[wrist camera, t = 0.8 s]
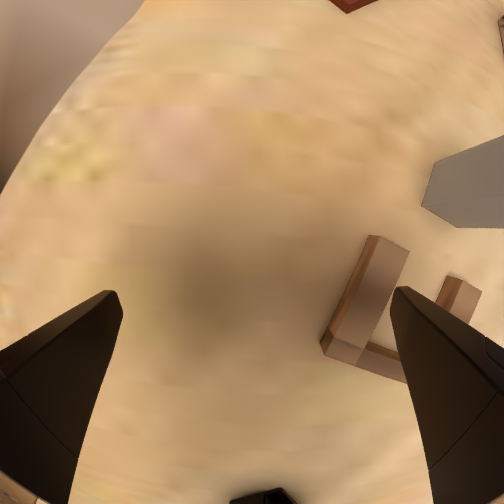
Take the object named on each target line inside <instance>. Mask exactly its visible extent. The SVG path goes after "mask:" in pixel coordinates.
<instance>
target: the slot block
mask: <svg viewBox="0 0 504 504" xmlns="http://www.w3.org/2000/svg"><path fill="white" fill-rule="evenodd" d="M409 252H410V251H408V250H406V249H404V248H403V247H401V246H399V245H397V244H395V243H393V242H391V241H389V240H387V239H385V238H383V237H381V236H371V235H369V238H368V240H367V243H366V245H365V248H364V250H363V252H362V255H361V257H360V259H359V262H358V264H357V266H356V268H355V271H354V273H353V275H352V277H351V280H350V282H349V284H348V286H347V288H346V290H345V293H344V295H343V297H342V299H341V301H340V303H339V305H338V307H337V309H336V311H335V313H334V316H333V318H332V320H331V322H330V324H329V326H328V328H327V330H326V331H325V333H324V335H323V337H322V339H321V341H320V345H321V347H322V350H323V353H324V355H325V356H328V357H330V358H333V359H336V360H339V361H341V362H344V363H347V364H350V365H352V366H355V367H358V368H361V369H364V370H367V371H370V372H372V373H375V374H378V375H381V376H384V377H387V378H390V379H393V380H397V381H400V382H403V383H406V384H407V381H406V377H405V374H404V371H403V368H402V364H401V361H400V358H399V354H398V353H397V352H394V351H391V350H389V349H386V348H384V347H381V346H378V345H376V344H373V343H370V342H368V340H369V338H370V337H371V335H372V333H373V331H374V329H375V327H376V325H377V323H378V321H379V319H380V317H381V315H382V313H383V311H384V309H385V307H386V304H387V302H388V300H389V298H390V296H391V294H392V291H393V289H394V287H395V285H396V283H397V280H398V278H399V276H400V273H401V271H402V269H403V266H404V264H405V261H406V259H407V257H408V254H409ZM481 293H482V291H480V290H479V289H477V288H475V287H474V286H472V285H470V284H468V283H467V282H465V281H463V280H460V279H457V278H454V277H450V276H447V277H446V280H445V282H444V285H443V287H442V290H441V292H440V294H439V297H438V299H437V301H436V304H437V305H439V306H440V307H442V308H443V309H445V310H447V311H448V312H450V313H451V314H453V315H454V316H456V317H457V318H459V319H460V320H462V321H464V322H465V323H467V324H469V322H470V319H471V317H472V315H473V313H474V310H475V308H476V306H477V303H478V301H479V298H480V296H481Z"/></svg>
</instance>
